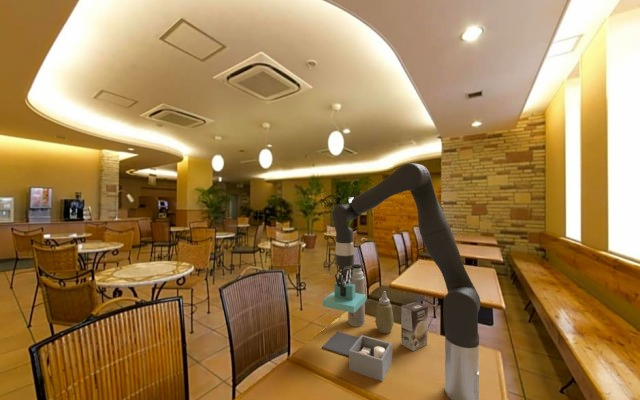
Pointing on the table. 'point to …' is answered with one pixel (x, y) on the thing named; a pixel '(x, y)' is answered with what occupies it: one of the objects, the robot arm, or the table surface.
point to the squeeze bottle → (384, 315)
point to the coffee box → (414, 325)
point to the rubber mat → (340, 343)
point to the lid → (345, 299)
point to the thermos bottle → (359, 281)
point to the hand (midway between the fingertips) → (344, 294)
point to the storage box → (370, 357)
